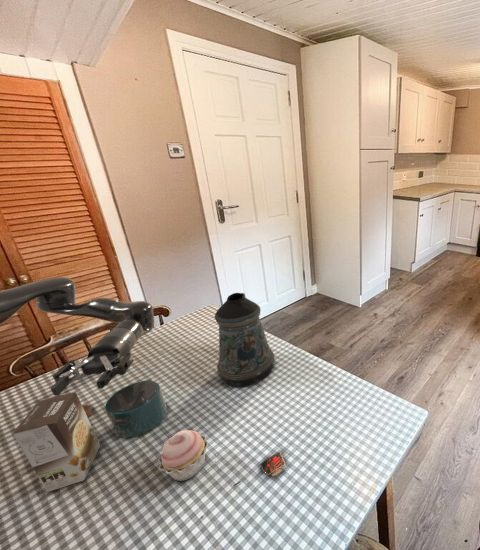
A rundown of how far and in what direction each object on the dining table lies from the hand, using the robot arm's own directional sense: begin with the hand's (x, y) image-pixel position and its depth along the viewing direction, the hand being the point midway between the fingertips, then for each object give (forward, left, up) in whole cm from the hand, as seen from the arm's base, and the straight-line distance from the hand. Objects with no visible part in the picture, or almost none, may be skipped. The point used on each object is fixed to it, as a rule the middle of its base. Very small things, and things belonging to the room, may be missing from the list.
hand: (77, 388), depth 68 cm
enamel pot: (+8, +2, -14) cm, 17 cm away
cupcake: (+24, -15, -14) cm, 31 cm away
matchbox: (+42, -19, -14) cm, 48 cm away
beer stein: (+32, +17, -14) cm, 39 cm away
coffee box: (0, -9, -14) cm, 17 cm away
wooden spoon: (-8, +2, -14) cm, 16 cm away
